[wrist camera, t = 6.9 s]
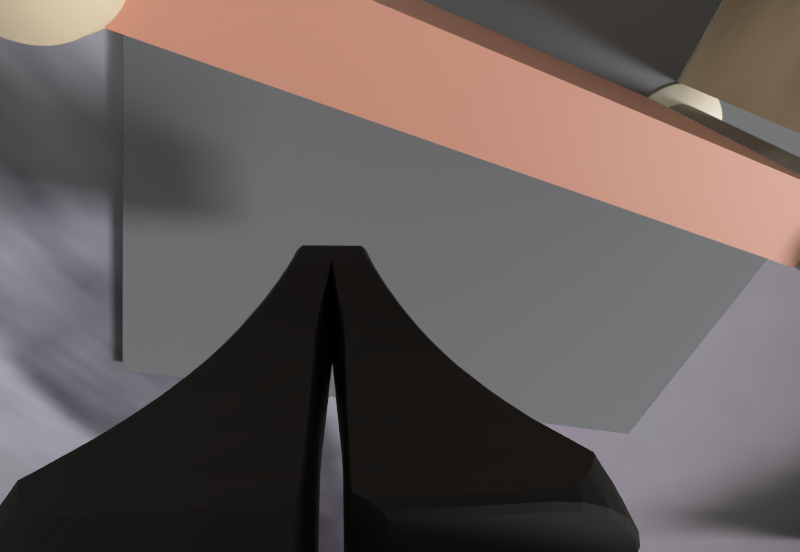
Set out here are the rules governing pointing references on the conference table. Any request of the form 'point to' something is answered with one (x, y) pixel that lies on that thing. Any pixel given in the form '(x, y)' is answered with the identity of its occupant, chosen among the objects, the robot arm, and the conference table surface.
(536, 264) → the card
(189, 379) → the robot arm
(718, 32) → the fence base
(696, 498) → the conference table surface
